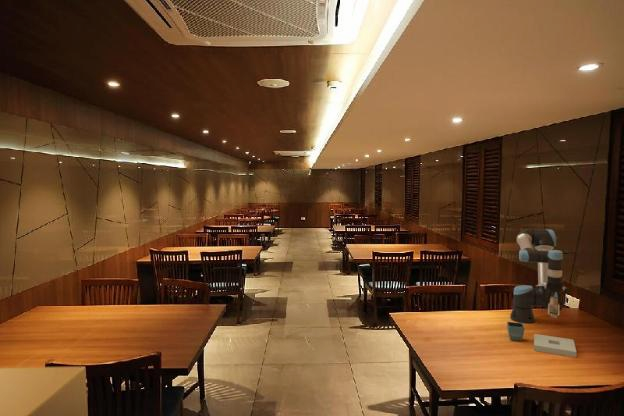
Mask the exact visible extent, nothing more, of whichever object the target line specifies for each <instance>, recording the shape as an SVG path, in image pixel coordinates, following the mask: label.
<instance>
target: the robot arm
mask: <svg viewBox="0 0 624 416" xmlns="http://www.w3.org/2000/svg"><path fill="white" fill-rule="evenodd" d="M515 240H516V244H517V245H519V248H520V250H519V252H518V257H519V258H518V259H519V262H525V263H537V281H538V283H537V285H535V288H534V287H533V286H532V285H529V284H528V285H527V284H522V285H516V286H515V287H514V288H513V293H512V294H513V304H512V305H513V306H512V310H511V312H510V319H511V320H512V321H513V322H516V323H522V324H532V323H533V324H534V323H535V321H536V317H535V313H534V311H533V307H541V308H543V307H544V308H546V309H547V315H550V297H557V298H558V313H557V317H558V316H560V311H562V309H563V308H562V305H566V301H567V300H566V298H567V291H568V287H566V286H564V285H563V264H564V263H563V261H564V260H563V259H564V254H563V251H562V250H558V249H557V250H556V249H554V247H556V246H557V236H556V233H555V231H554V230H553V229H547V228H525V229H523V230H521V231H520V232H519V233H518V234H517V235H516V238H515ZM561 290H562V291H563V293H562V299H561V294H560V291H561Z"/></svg>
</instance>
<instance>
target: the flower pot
mask: <svg viewBox="0 0 624 416" xmlns="http://www.w3.org/2000/svg"><path fill="white" fill-rule="evenodd" d="M525 328H526V327H525V325H524V323H521V322H516V321H506V329H507V333H508V336H509V339H510V340H512V341H519V342H520V341H522V339H523V337H524V333H525Z"/></svg>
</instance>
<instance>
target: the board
mask: <svg viewBox="0 0 624 416" xmlns="http://www.w3.org/2000/svg"><path fill="white" fill-rule="evenodd" d="M533 351H535V352H540V353H541V352H542V353H547V354H548V353H549V354H553V355H559V356H567V357H571V358H577V349H576V345H575V341H574V339H571V338H565V337H558V336H552V335H551V336H550V335H544V334H539V333H538V334H537V333H534V334H533Z"/></svg>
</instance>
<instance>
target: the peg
mask: <svg viewBox="0 0 624 416" xmlns="http://www.w3.org/2000/svg"><path fill="white" fill-rule="evenodd" d="M558 304H559V300H558V298H557V297H550V312H549V317H550V318H551V319H558Z"/></svg>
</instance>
